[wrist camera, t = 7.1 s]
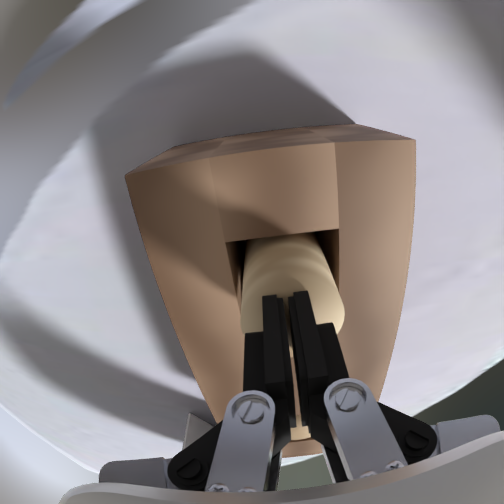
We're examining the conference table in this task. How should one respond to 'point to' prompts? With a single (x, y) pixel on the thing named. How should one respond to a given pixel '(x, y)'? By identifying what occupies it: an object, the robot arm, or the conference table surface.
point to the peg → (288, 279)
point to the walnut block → (275, 224)
